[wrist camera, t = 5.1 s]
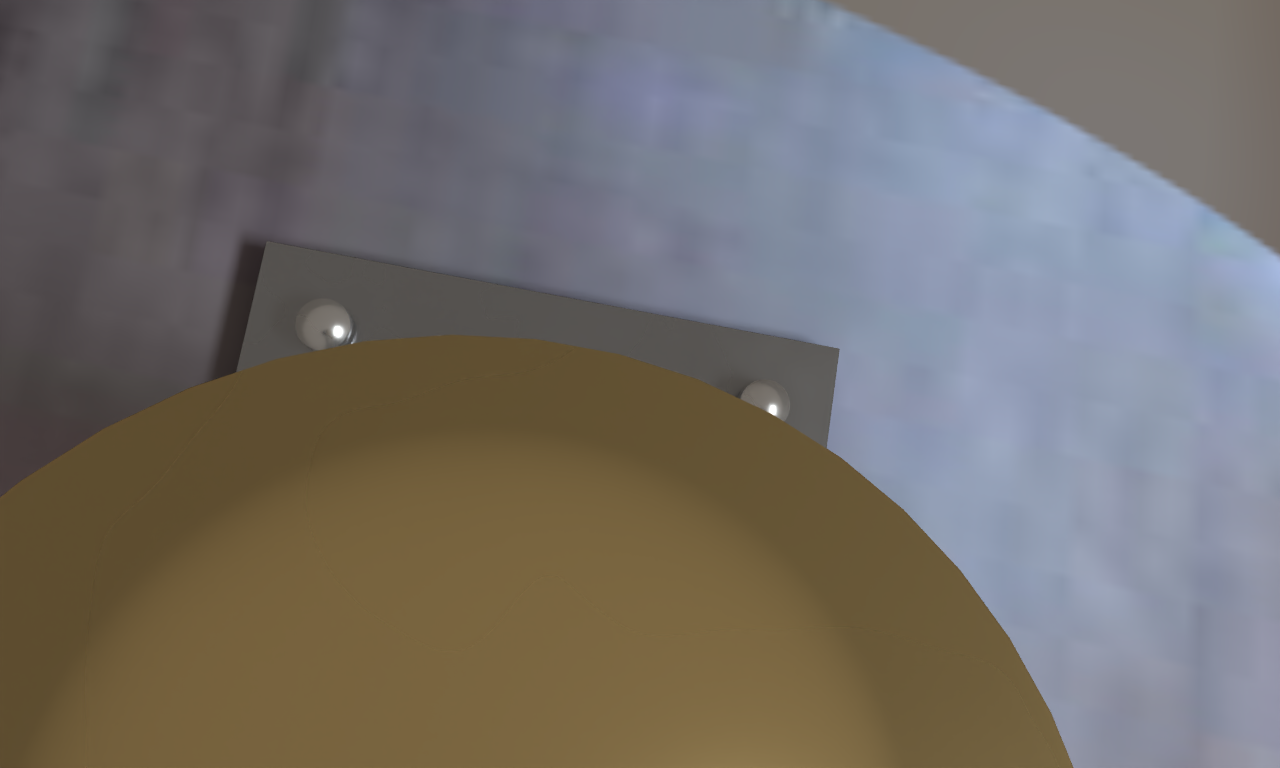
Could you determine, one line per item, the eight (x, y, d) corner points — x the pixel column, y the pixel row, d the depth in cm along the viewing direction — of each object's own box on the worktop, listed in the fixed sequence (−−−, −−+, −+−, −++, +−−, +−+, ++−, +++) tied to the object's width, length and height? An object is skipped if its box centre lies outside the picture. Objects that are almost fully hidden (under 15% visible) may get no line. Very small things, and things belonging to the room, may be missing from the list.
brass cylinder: (666, 736, 16) (1267, 1617, 3) (387, 793, 15) (-320, 2217, 2) (622, 465, 16) (971, 259, 4) (351, 509, 16) (-381, 444, 3)
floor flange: (753, 938, 22) (779, 984, 20) (131, 861, 21) (84, 901, 18) (831, 352, 24) (861, 337, 22) (273, 248, 23) (247, 220, 21)
